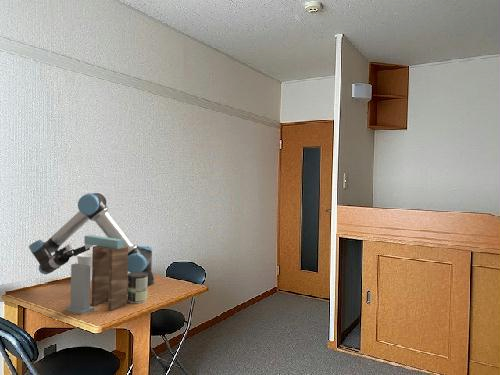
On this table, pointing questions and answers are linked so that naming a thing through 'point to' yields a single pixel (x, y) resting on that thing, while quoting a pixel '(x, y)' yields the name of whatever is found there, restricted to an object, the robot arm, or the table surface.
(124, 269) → the walnut wood block
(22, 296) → the table surface
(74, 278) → the pedestal
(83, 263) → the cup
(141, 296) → the coffee can
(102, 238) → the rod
